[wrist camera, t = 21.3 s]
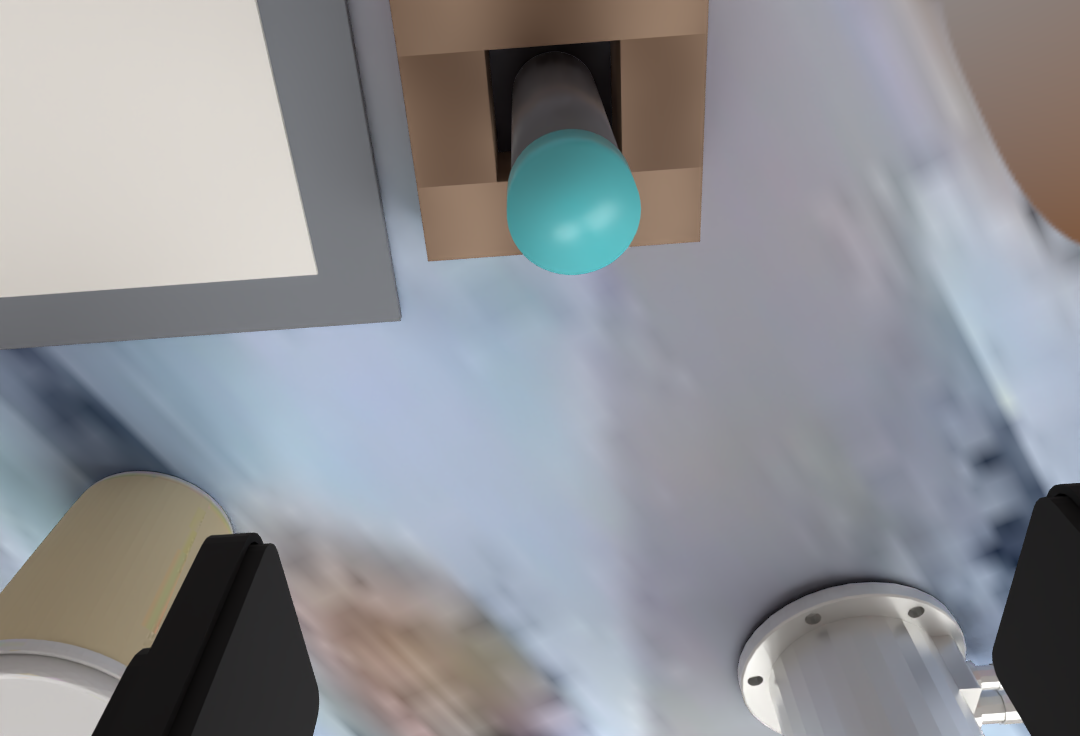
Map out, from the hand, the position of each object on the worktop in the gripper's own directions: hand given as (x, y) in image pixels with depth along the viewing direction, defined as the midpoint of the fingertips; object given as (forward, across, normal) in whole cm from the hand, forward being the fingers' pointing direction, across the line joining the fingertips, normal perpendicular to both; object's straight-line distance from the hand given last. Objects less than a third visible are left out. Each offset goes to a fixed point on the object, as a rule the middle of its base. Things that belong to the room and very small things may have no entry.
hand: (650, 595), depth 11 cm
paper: (+24, +20, -1) cm, 31 cm away
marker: (+24, +1, -1) cm, 24 cm away
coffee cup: (+25, +22, +19) cm, 38 cm away
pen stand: (+24, +1, -1) cm, 24 cm away
